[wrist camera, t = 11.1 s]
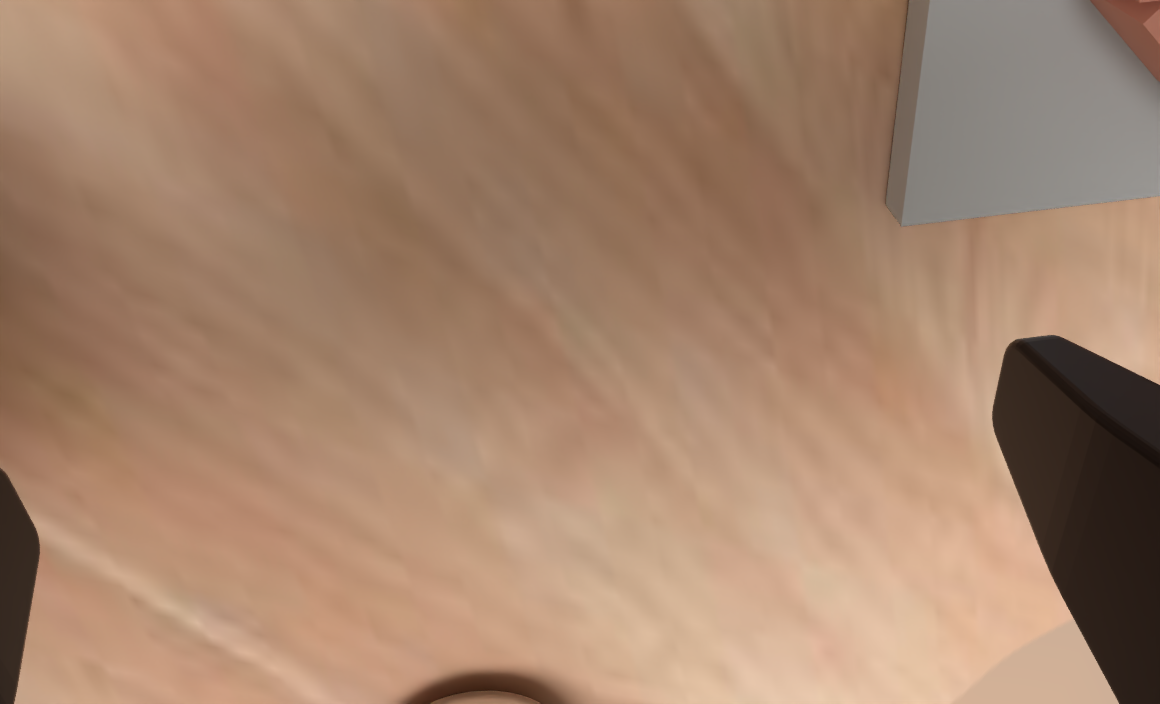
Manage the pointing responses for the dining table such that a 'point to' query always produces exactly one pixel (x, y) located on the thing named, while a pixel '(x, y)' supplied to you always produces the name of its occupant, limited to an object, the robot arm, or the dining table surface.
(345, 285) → the dining table surface
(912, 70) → the band dock
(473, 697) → the plastic bottle
